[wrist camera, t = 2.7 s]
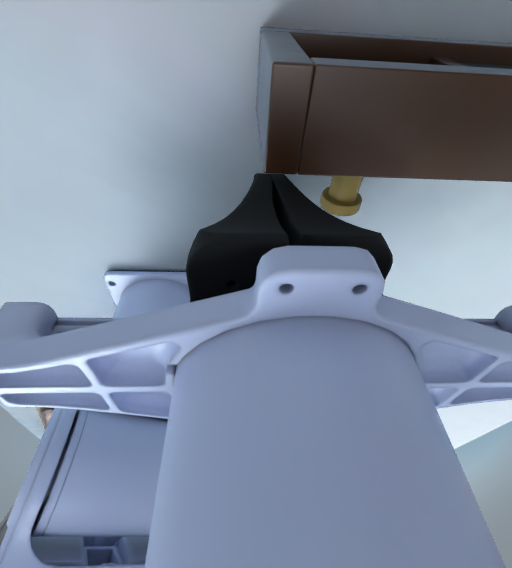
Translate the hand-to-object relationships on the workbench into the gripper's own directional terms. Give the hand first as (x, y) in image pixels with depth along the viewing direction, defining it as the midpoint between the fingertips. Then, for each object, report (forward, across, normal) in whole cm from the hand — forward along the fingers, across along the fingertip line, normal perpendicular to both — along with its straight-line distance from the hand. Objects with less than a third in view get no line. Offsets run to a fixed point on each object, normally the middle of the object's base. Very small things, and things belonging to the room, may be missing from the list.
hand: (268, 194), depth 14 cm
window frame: (+4, -7, -4) cm, 9 cm away
